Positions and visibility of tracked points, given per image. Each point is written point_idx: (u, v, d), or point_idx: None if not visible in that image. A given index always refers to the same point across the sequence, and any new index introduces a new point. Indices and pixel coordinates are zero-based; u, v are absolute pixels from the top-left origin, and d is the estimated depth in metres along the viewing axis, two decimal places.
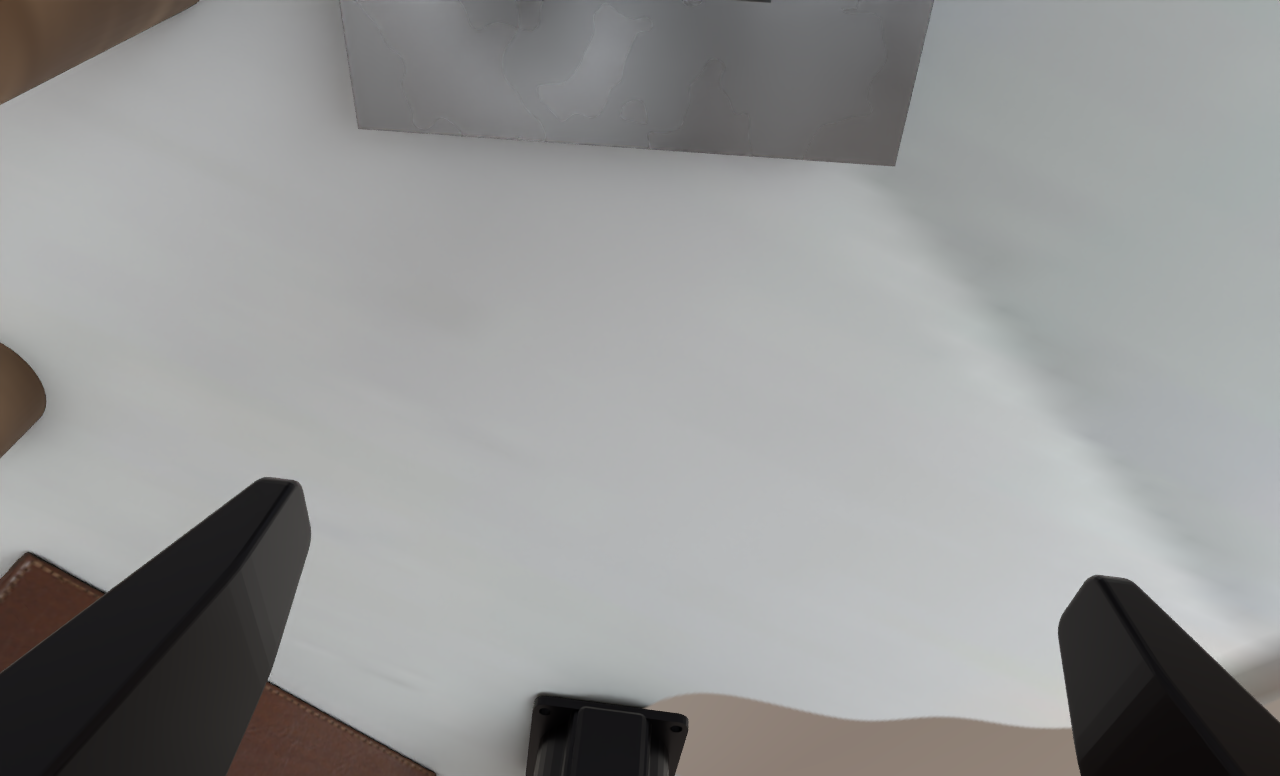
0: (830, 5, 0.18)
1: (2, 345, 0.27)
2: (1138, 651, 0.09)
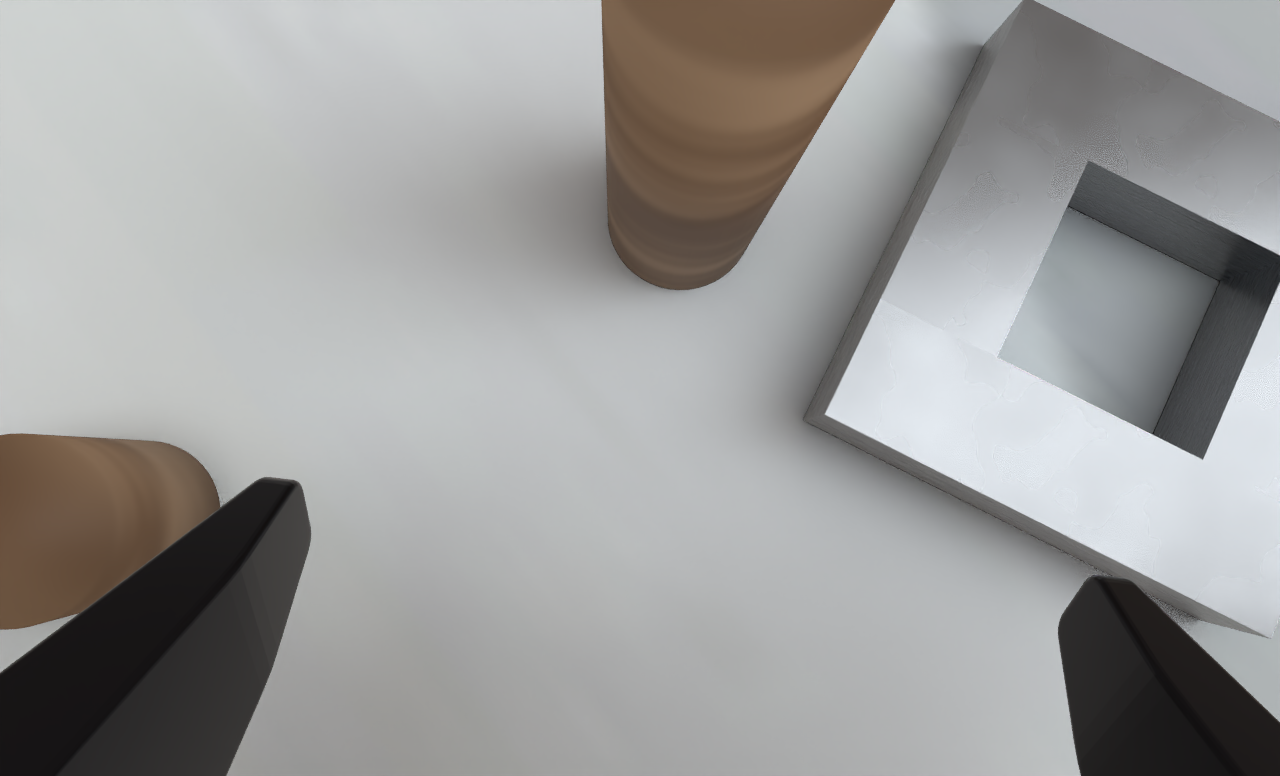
0: (1242, 482, 0.21)
1: (215, 488, 0.23)
2: (1138, 651, 0.09)
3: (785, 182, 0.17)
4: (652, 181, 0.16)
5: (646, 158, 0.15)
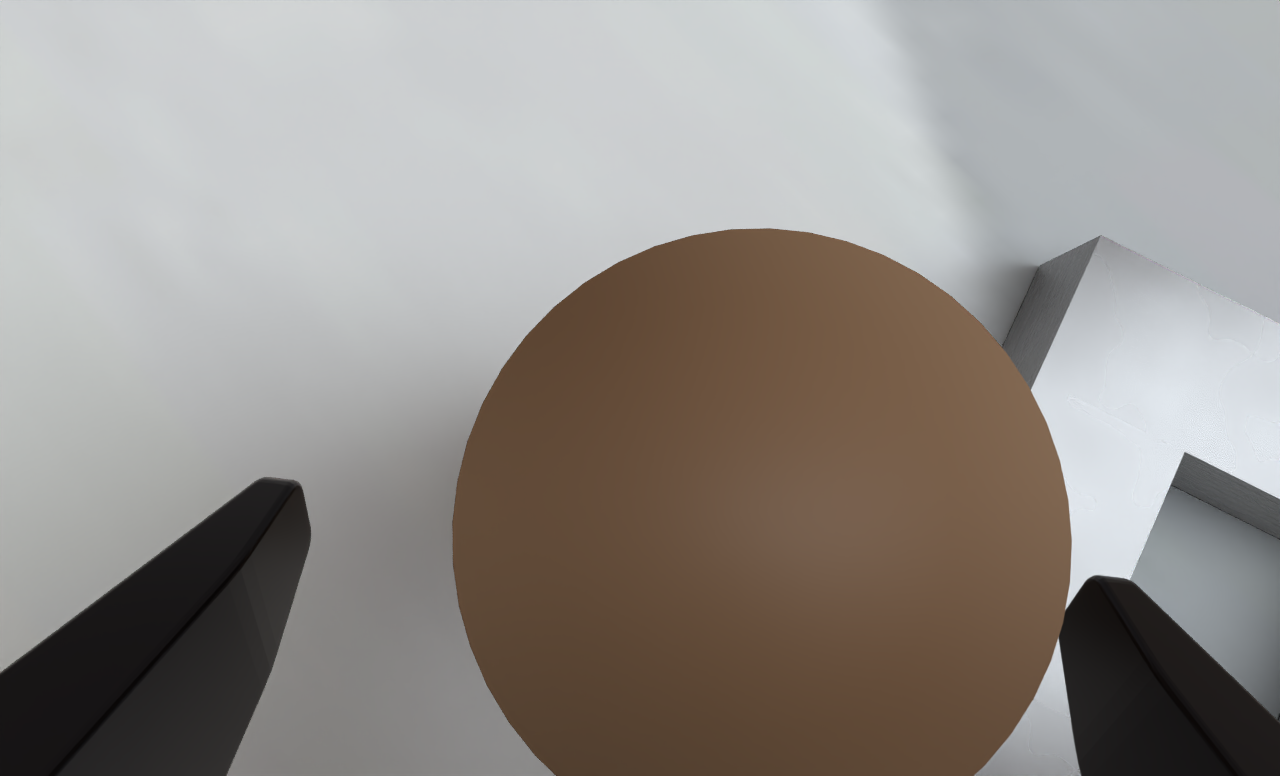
0: None
1: None
2: (1138, 651, 0.09)
3: None
4: None
5: None
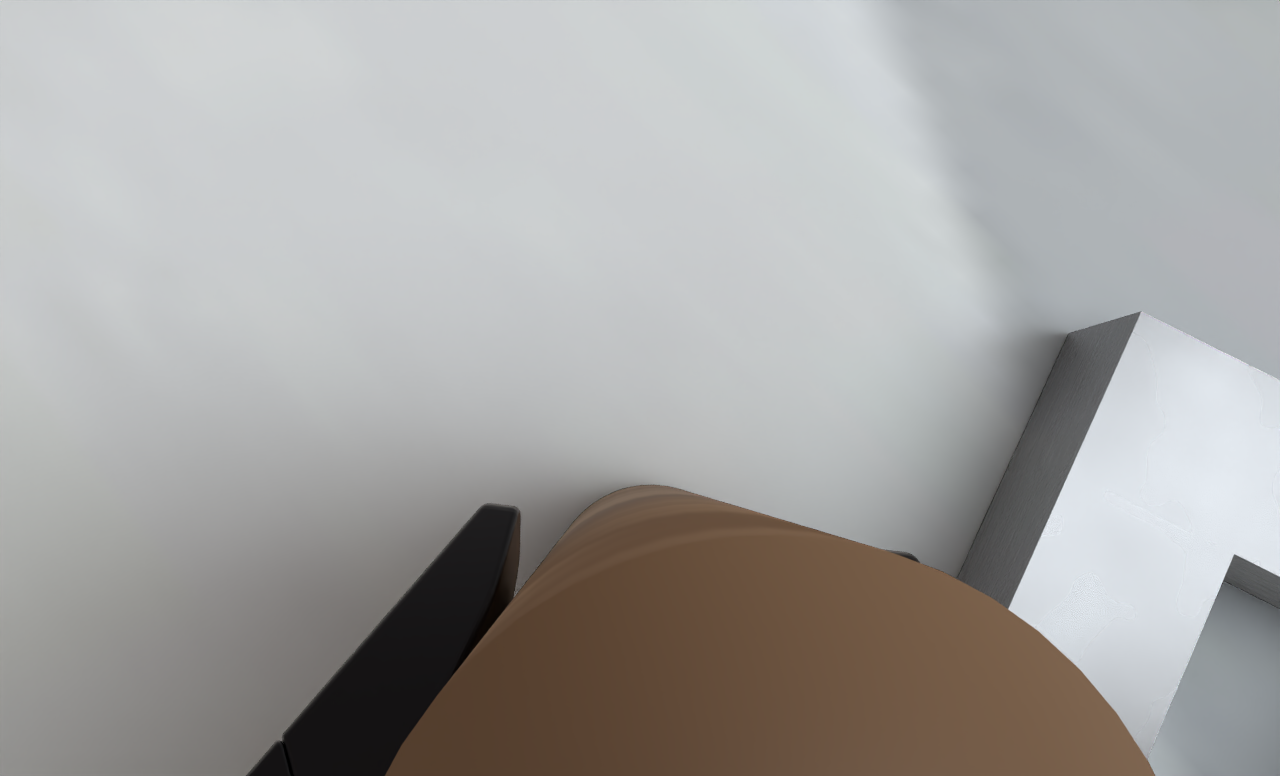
0: None
1: None
2: None
3: None
4: None
5: None
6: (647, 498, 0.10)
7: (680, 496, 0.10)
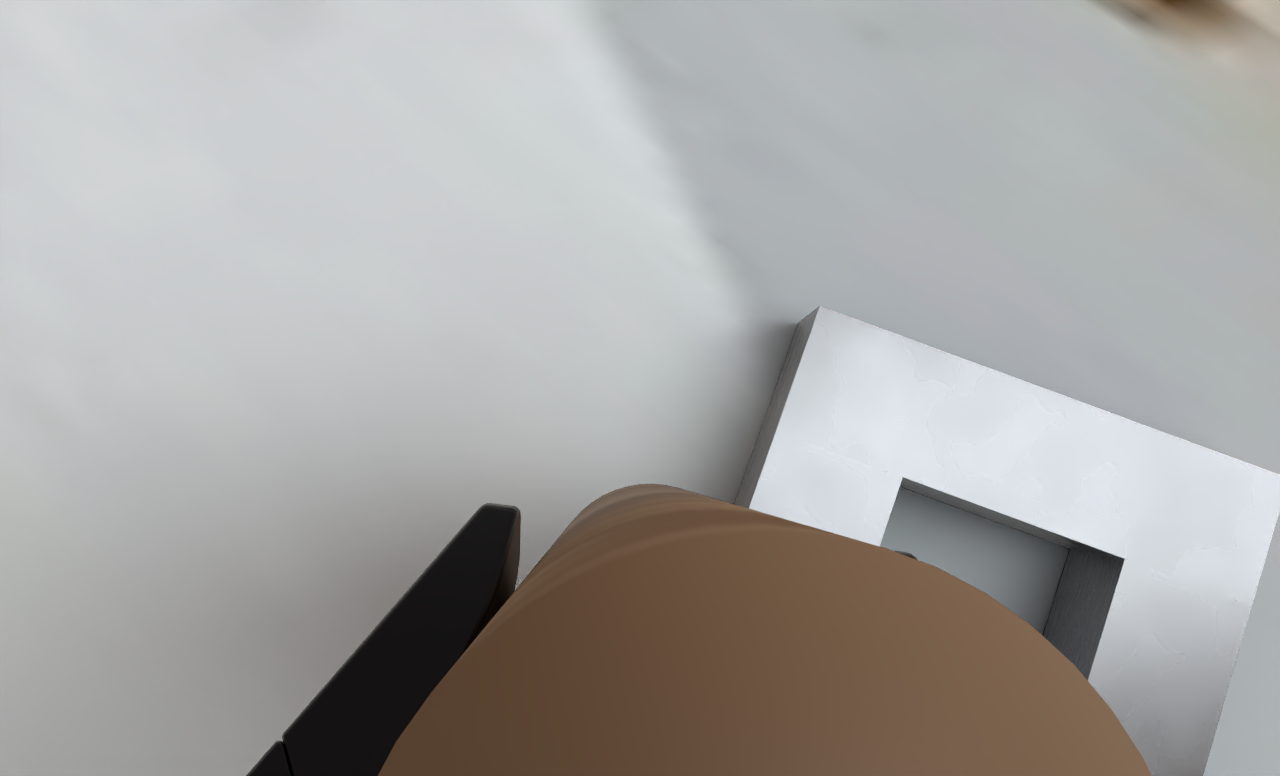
0: None
1: None
2: None
3: None
4: None
5: None
6: (645, 496, 0.10)
7: (678, 494, 0.10)
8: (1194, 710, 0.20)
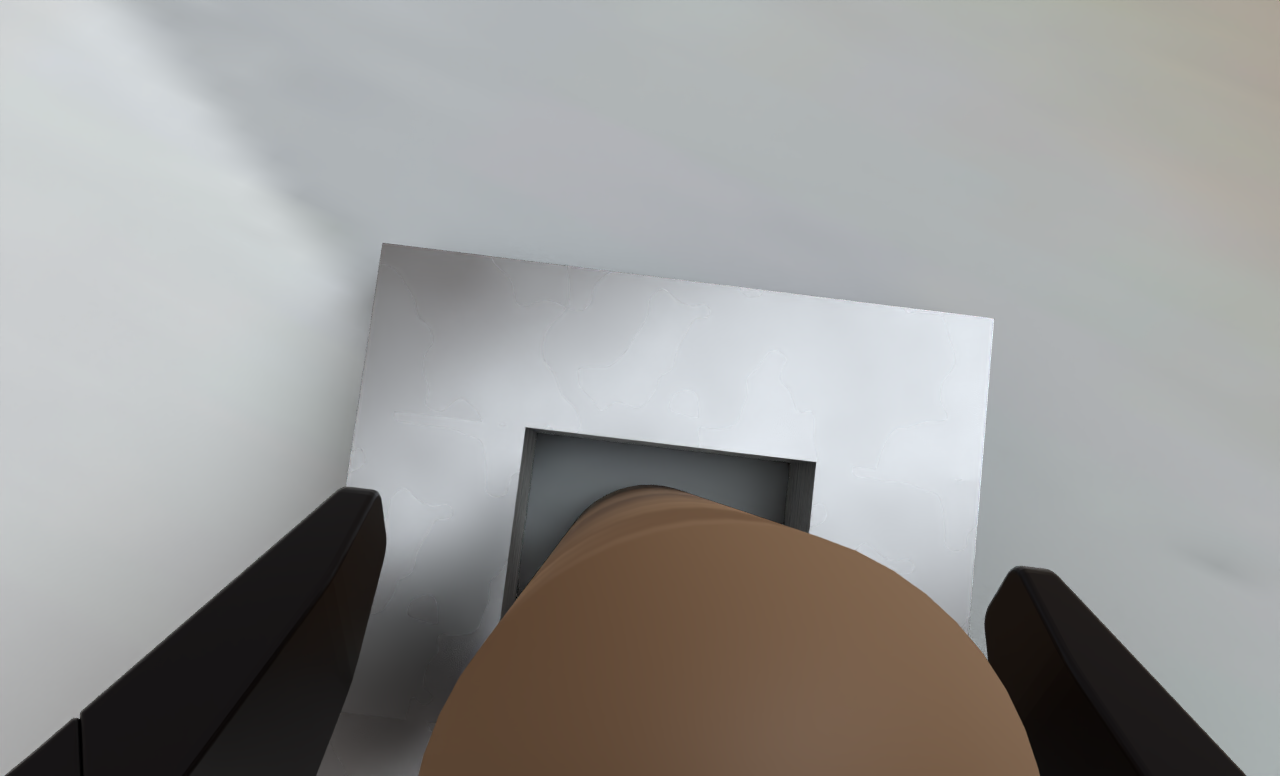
0: None
1: None
2: (1052, 641, 0.09)
3: None
4: None
5: None
6: (643, 497, 0.12)
7: (672, 495, 0.11)
8: None
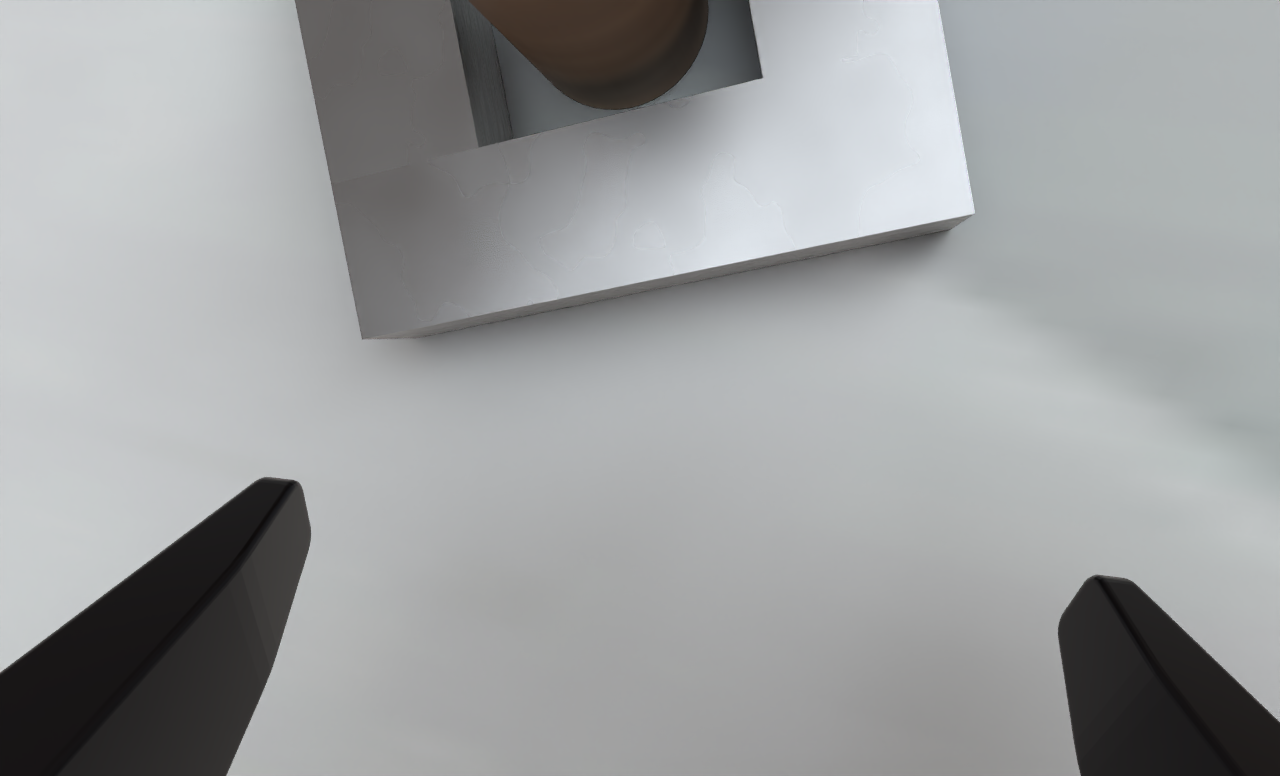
0: (830, 64, 0.16)
1: None
2: (1138, 651, 0.09)
3: None
4: None
5: None
6: None
7: None
8: None
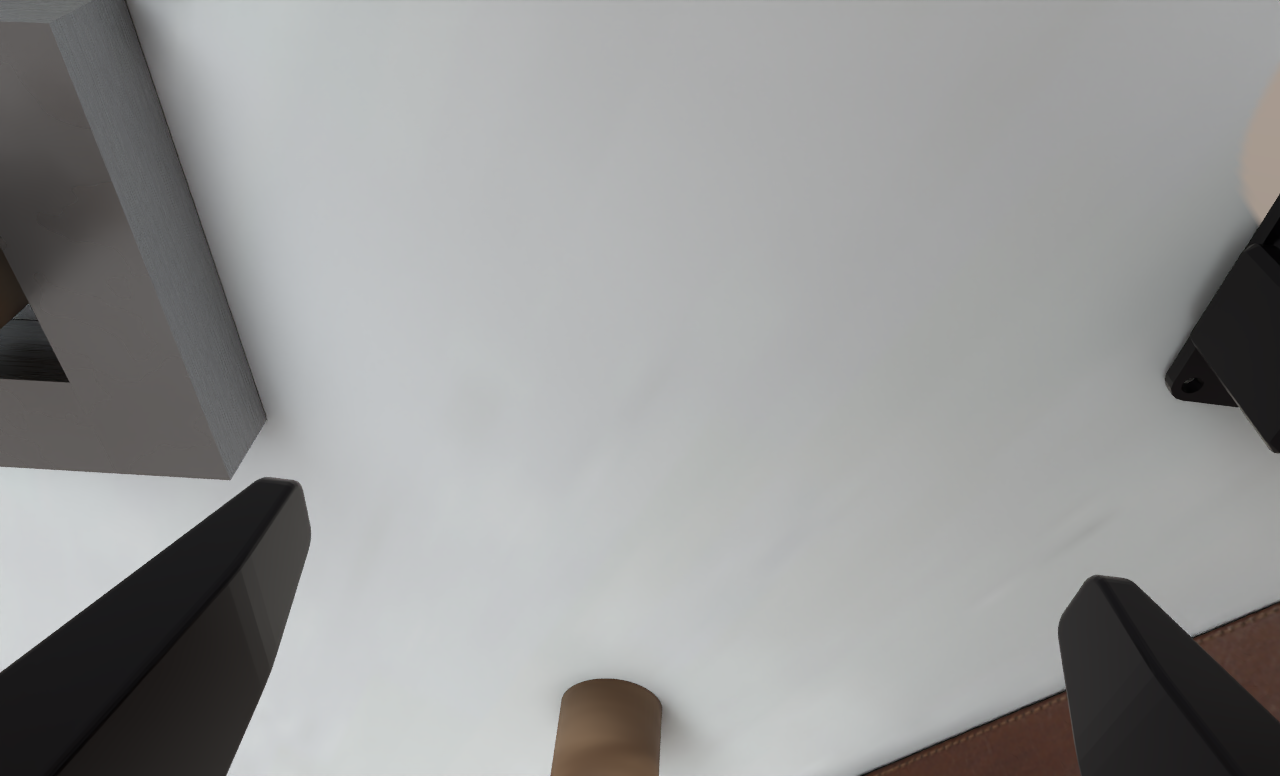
0: None
1: (573, 687, 0.34)
2: (1138, 651, 0.09)
3: None
4: None
5: None
6: None
7: None
8: None
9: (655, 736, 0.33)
